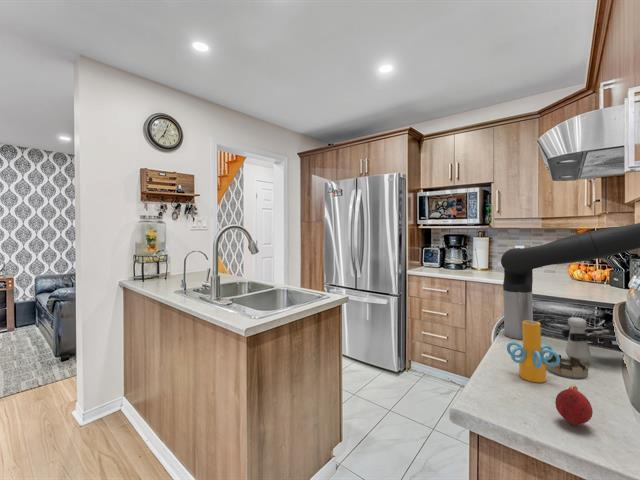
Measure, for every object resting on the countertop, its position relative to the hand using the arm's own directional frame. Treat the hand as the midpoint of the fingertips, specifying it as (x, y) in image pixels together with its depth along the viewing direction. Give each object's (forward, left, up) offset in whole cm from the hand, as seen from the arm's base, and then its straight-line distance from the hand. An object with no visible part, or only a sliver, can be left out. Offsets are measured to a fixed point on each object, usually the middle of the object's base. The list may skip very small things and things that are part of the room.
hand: (566, 335), depth 92 cm
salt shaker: (0, +3, -8) cm, 9 cm away
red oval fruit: (+33, -19, -8) cm, 39 cm away
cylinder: (+12, -16, -8) cm, 21 cm away
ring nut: (+7, -5, -8) cm, 12 cm away
